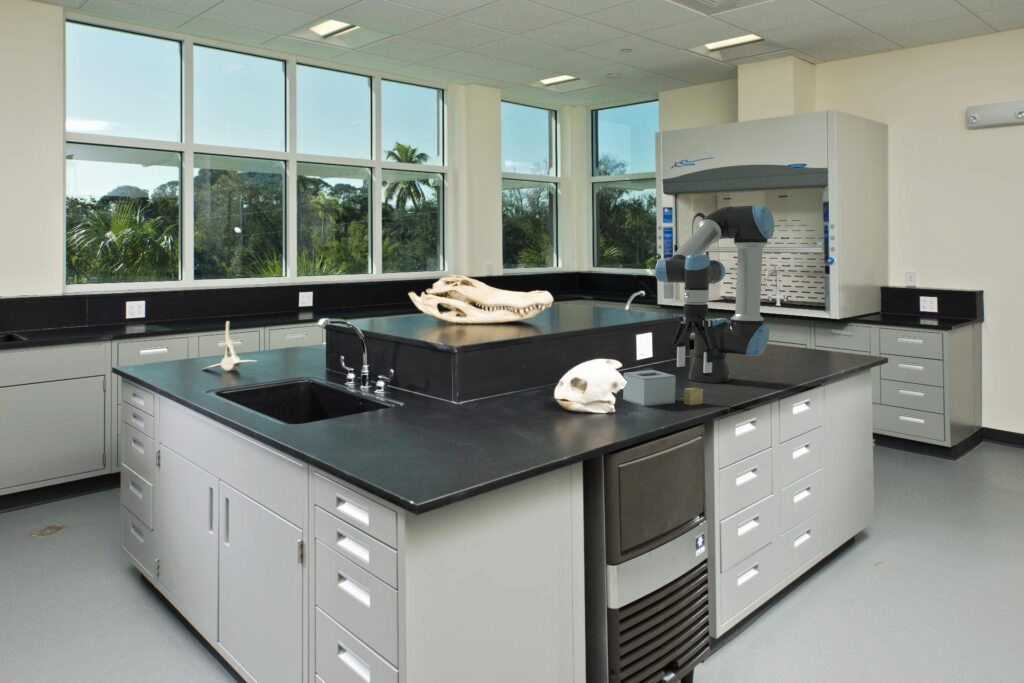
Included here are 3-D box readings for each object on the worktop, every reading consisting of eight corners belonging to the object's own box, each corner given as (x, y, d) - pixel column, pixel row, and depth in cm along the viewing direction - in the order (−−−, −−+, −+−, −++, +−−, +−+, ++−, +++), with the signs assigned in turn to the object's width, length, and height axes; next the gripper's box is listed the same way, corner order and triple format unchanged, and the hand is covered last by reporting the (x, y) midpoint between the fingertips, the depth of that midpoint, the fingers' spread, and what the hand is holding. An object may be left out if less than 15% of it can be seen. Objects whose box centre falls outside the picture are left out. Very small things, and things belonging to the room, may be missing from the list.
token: (696, 402, 246) (697, 387, 246) (702, 403, 244) (702, 388, 243) (684, 403, 244) (684, 388, 244) (689, 405, 241) (690, 390, 241)
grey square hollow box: (653, 396, 255) (653, 370, 254) (674, 403, 245) (675, 375, 243) (623, 399, 250) (623, 372, 249) (643, 406, 240) (644, 378, 238)
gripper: (662, 301, 249) (661, 364, 252) (712, 306, 227) (709, 376, 229) (681, 300, 252) (679, 363, 255) (731, 305, 230) (729, 374, 232)
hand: (693, 369), depth 242 cm, fingers open, 13 cm apart
